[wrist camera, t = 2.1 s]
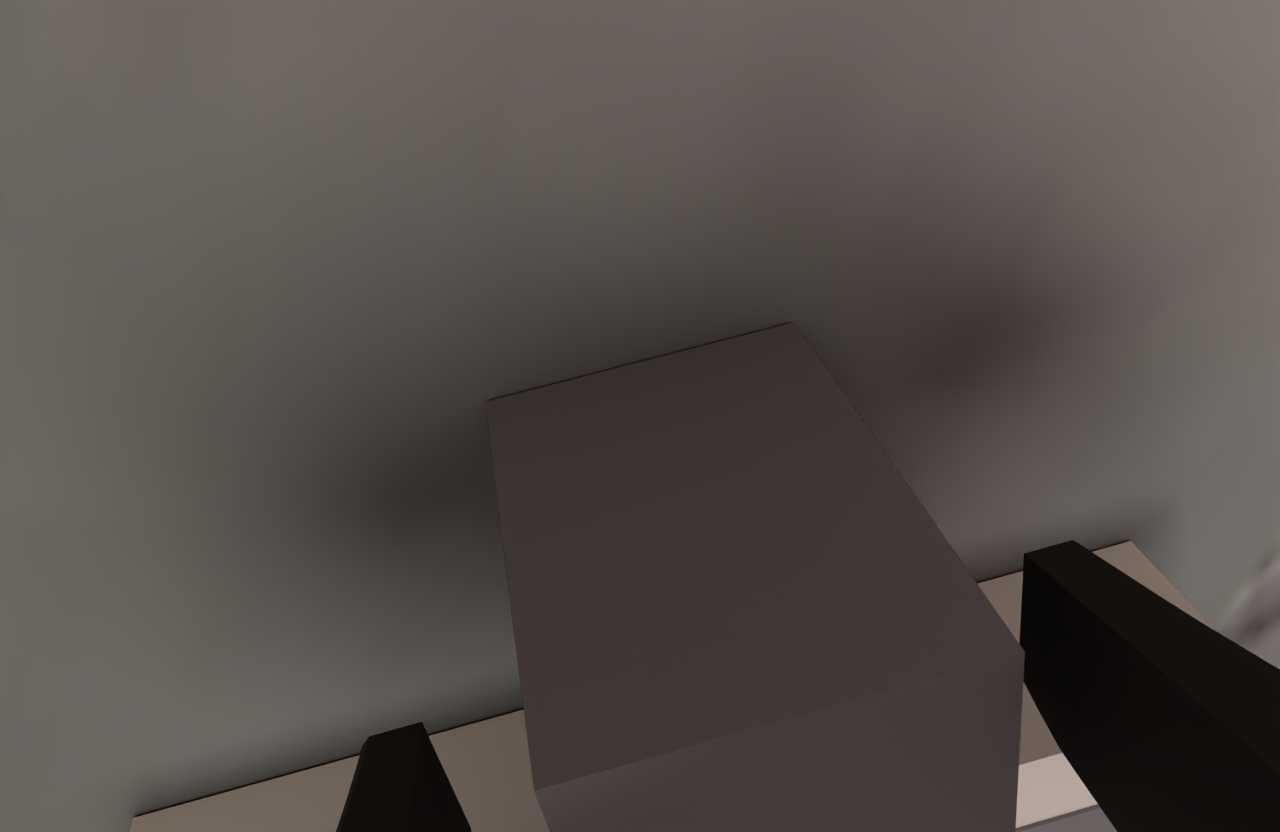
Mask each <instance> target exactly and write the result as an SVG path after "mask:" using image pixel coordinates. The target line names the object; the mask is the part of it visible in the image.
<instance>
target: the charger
mask: <svg viewBox="0 0 1280 832" xmlns="http://www.w3.org/2000/svg"><path fill="white" fill-rule="evenodd" d="M485 405H486V413H487V421H488V429H489V437H490V445H491V453H492V461H493V469H494V477H495V484H496V492H497V500H498V508H499V516H500V524H501V532H502V540H503V548H504V556H505V564H506V572H507V580H508V588H509V596H510V604H511V612H512V620H513V628H514V636H515V644H516V652H517V660H518V668H519V676H520V684H521V692H522V700H523V708H524V716H525V724H526V732H527V740H528V748H529V756H530V764H531V772H532V780H533V788H534V792H535V795H536V798H537V800H538V803H539V805H540V808H541V810H542V813H543V816H544V818H545V821H546V823H547V826H548V828H549V831H550V832H1015V829H1016V810H1017V791H1018V773H1019V754H1020V735H1021V716H1022V698H1023V679H1024V660H1025V651H1024V650H1023V648H1022V647H1021V646H1020V644H1019V643H1018V641H1017V640H1016V638H1015V637H1014V636H1013V634H1012V633H1011V631H1010V630H1009V628H1008V627H1007V626H1006V624H1005V623H1004V621H1003V620H1002V618H1001V617H1000V616H999V614H998V613H997V611H996V610H995V608H994V607H993V606H992V604H991V603H990V601H989V600H988V599H987V597H986V596H985V594H984V593H983V591H982V590H981V589H980V587H979V586H978V584H977V583H976V581H975V580H974V579H973V577H972V576H971V574H970V573H969V571H968V570H967V569H966V567H965V566H964V564H963V563H962V561H961V560H960V559H959V557H958V556H957V554H956V553H955V551H954V550H953V549H952V547H951V546H950V544H949V543H948V541H947V540H946V539H945V537H944V536H943V534H942V533H941V531H940V530H939V529H938V527H937V526H936V524H935V523H934V521H933V520H932V519H931V517H930V516H929V514H928V513H927V511H926V510H925V509H924V507H923V506H922V504H921V503H920V501H919V500H918V499H917V497H916V496H915V494H914V493H913V491H912V490H911V489H910V487H909V486H908V484H907V483H906V481H905V480H904V479H903V477H902V476H901V474H900V473H899V472H898V470H897V469H896V467H895V466H894V464H893V463H892V462H891V460H890V459H889V457H888V456H887V454H886V453H885V452H884V450H883V449H882V447H881V446H880V444H879V443H878V442H877V440H876V439H875V437H874V436H873V434H872V433H871V432H870V430H869V429H868V427H867V426H866V424H865V423H864V422H863V420H862V419H861V417H860V416H859V414H858V413H857V412H856V410H855V409H854V407H853V406H852V404H851V403H850V402H849V400H848V399H847V397H846V396H845V394H844V393H843V392H842V390H841V389H840V387H839V386H838V384H837V383H836V382H835V380H834V379H833V377H832V376H831V374H830V373H829V372H828V370H827V369H826V367H825V366H824V364H823V363H822V362H821V360H820V359H819V357H818V356H817V354H816V353H815V352H814V350H813V349H812V347H811V346H810V345H809V343H808V342H807V340H806V339H805V337H804V336H803V335H802V333H801V332H800V330H799V329H798V327H797V326H796V325H795V323H794V322H793V323H789V324H785V325H781V326H777V327H774V328H770V329H766V330H762V331H758V332H754V333H750V334H746V335H743V336H739V337H735V338H731V339H727V340H723V341H719V342H715V343H711V344H708V345H704V346H700V347H696V348H692V349H688V350H684V351H680V352H677V353H673V354H669V355H665V356H661V357H657V358H653V359H649V360H645V361H642V362H638V363H634V364H630V365H626V366H622V367H618V368H614V369H611V370H607V371H603V372H599V373H595V374H591V375H587V376H583V377H579V378H576V379H572V380H568V381H564V382H560V383H556V384H552V385H548V386H545V387H541V388H537V389H533V390H529V391H525V392H521V393H517V394H513V395H510V396H506V397H502V398H498V399H494V400H490V401H486V402H485Z"/></svg>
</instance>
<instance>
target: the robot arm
mask: <svg viewBox="0 0 1280 832" xmlns="http://www.w3.org/2000/svg"><path fill="white" fill-rule="evenodd" d="M1019 644H1020V646H1021V647H1022V648H1023V650H1024V651H1025V660H1024V679H1023V682H1024V684H1025V685H1026V687H1027V689H1028V691H1029V693H1030V695H1031V697H1032V699H1033V701H1034V703H1035V705H1036V707H1037V708H1038V710H1039V712H1040V714H1041V716H1042V718H1043V720H1044V721H1045V723H1046V725H1047V727H1048V729H1049V730H1050V732H1051V734H1052V736H1053V738H1054V739H1055V741H1056V743H1057V745H1058V747H1059V748H1060V750H1061V751H1062V753H1063V754H1064V756H1065V757H1066V759H1067V760H1068V762H1069V763H1070V765H1071V766H1072V768H1073V769H1074V771H1075V772H1076V773H1077V775H1078V776H1079V778H1080V779H1081V781H1082V782H1083V783H1084V785H1085V786H1086V788H1087V789H1088V791H1089V792H1090V794H1091V795H1092V796H1093V798H1094V799H1095V801H1096V802H1097V804H1098V805H1099V806H1100V808H1101V809H1102V811H1103V812H1104V814H1105V815H1106V816H1107V818H1108V819H1109V821H1110V822H1111V824H1112V825H1113V826H1114V828H1115V829H1116V831H1117V832H1280V669H1278V668H1276V667H1274V666H1273V665H1271V664H1269V663H1268V662H1266V661H1264V660H1263V659H1261V658H1259V657H1258V656H1256V655H1254V654H1253V653H1251V652H1249V651H1248V650H1246V649H1244V648H1243V647H1241V646H1239V645H1238V644H1236V643H1234V642H1233V641H1231V640H1229V639H1228V638H1226V637H1224V636H1223V635H1221V634H1219V633H1218V632H1216V631H1215V630H1213V629H1211V628H1210V627H1208V626H1207V625H1205V624H1203V623H1202V622H1200V621H1198V620H1197V619H1195V618H1194V617H1192V616H1191V615H1189V614H1187V613H1186V612H1184V611H1183V610H1181V609H1180V608H1178V607H1176V606H1175V605H1173V604H1172V603H1170V602H1169V601H1167V600H1165V599H1164V598H1162V597H1161V596H1159V595H1158V594H1156V593H1154V592H1153V591H1151V590H1150V589H1148V588H1147V587H1145V586H1144V585H1142V584H1141V583H1139V582H1137V581H1136V580H1134V579H1133V578H1131V577H1130V576H1128V575H1127V574H1125V573H1124V572H1122V571H1120V570H1119V569H1117V568H1116V567H1114V566H1113V565H1111V564H1110V563H1108V562H1107V561H1105V560H1103V559H1102V558H1100V557H1099V556H1097V555H1096V554H1094V553H1092V552H1091V551H1089V550H1088V549H1086V548H1085V547H1083V546H1082V545H1080V544H1078V543H1077V542H1075V541H1074V540H1071V541H1068V542H1064V543H1061V544H1057V545H1053V546H1050V547H1046V548H1043V549H1039V550H1036V551H1032V552H1028V553H1025V554H1024V564H1023V583H1022V602H1021V621H1020V641H1019ZM336 832H471V827H470V825H469V823H468V820H467V818H466V816H465V814H464V812H463V810H462V808H461V805H460V803H459V801H458V799H457V797H456V795H455V792H454V790H453V788H452V786H451V784H450V782H449V779H448V777H447V775H446V773H445V771H444V769H443V766H442V764H441V762H440V760H439V758H438V756H437V754H436V751H435V749H434V747H433V745H432V743H431V741H430V738H429V736H428V734H427V732H426V730H425V728H424V725H423V723H422V722H420V723H416V724H413V725H409V726H405V727H402V728H398V729H395V730H391V731H387V732H384V733H380V734H377V735H373V736H370V737H368V739H367V740H366V742H365V743H364V744H363V746H362V749H361V752H360V756H359V759H358V763H357V766H356V770H355V773H354V776H353V780H352V783H351V786H350V790H349V793H348V796H347V799H346V802H345V805H344V809H343V812H342V815H341V818H340V821H339V824H338V827H337V830H336Z"/></svg>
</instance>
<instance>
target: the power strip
mask: <svg viewBox="0 0 1280 832" xmlns="http://www.w3.org/2000/svg"><path fill="white" fill-rule="evenodd" d="M1092 553H1094V554H1096V555H1097V556H1099V557H1100V558H1102V559H1103V560H1105V561H1107V562H1108V563H1110V564H1111V565H1113V566H1114V567H1116V568H1117V569H1119V570H1120V571H1122V572H1124V573H1125V574H1127V575H1128V576H1130V577H1131V578H1133V579H1134V580H1136V581H1137V582H1139V583H1141V584H1142V585H1144V586H1145V587H1147V588H1148V589H1150V590H1151V591H1153V592H1154V593H1156V594H1158V595H1159V596H1161V597H1162V598H1164V599H1165V600H1167V601H1169V602H1170V603H1172V604H1173V605H1175V606H1176V607H1178V608H1180V609H1181V610H1183V611H1184V612H1186V613H1187V614H1189V615H1191V616H1192V617H1194V618H1195V619H1197V620H1198V621H1200V622H1202V623H1203V624H1205V625H1207V626H1208V627H1210V628H1211V629H1213V628H1212V627H1211V625H1210V624H1209V623H1208V622H1207V621H1206V620H1205V619H1204V618H1203V617H1202V616H1201V615H1200V614H1199V613H1198V612H1197V611H1196V609H1195V608H1194V607H1193V606H1192V605H1191V604H1190V603H1189V602H1188V601H1187V600H1186V599H1185V598H1184V597H1183V596H1182V595H1181V593H1180V592H1179V591H1178V590H1177V589H1176V588H1175V587H1174V586H1173V585H1172V584H1171V583H1170V582H1169V581H1168V580H1167V579H1166V578H1165V576H1164V575H1163V574H1162V573H1161V572H1160V571H1159V570H1158V569H1157V568H1156V567H1155V566H1154V565H1153V564H1152V563H1151V562H1150V560H1149V559H1148V558H1147V557H1146V556H1145V555H1144V554H1143V553H1142V552H1141V551H1140V550H1139V549H1138V548H1137V547H1136V546H1135V545H1134V543H1133V542H1132V541H1129V542H1125V543H1122V544H1118V545H1115V546H1111V547H1107V548H1104V549H1100V550H1097V551H1093V552H1092ZM1022 583H1023V571H1021V572H1017V573H1014V574H1010V575H1006V576H1003V577H999V578H996V579H992V580H988V581H985V582H981V583H978V586H979V587H980V589H981V590H982V591H983V593H984V594H985V596H986V597H987V599H988V600H989V601H990V603H991V604H992V606H993V607H994V608H995V610H996V611H997V613H998V614H999V616H1000V617H1001V618H1002V620H1003V621H1004V623H1005V624H1006V626H1007V627H1008V628H1009V630H1010V631H1011V633H1012V634H1013V636H1014V637H1015V638H1016V640H1017V641H1018V643H1019V641H1020V621H1021V602H1022ZM1213 630H1214V629H1213ZM429 738H430V741H431V743H432V745H433V747H434V749H435V751H436V754H437V756H438V758H439V760H440V762H441V764H442V766H443V769H444V771H445V773H446V775H447V777H448V779H449V782H450V784H451V786H452V788H453V790H454V792H455V795H456V797H457V799H458V801H459V803H460V805H461V808H462V810H463V812H464V814H465V816H466V818H467V820H468V823H469V825H470V827H471V832H550V831H549V828H548V826H547V823H546V821H545V818H544V816H543V813H542V810H541V808H540V805H539V803H538V800H537V798H536V795H535V792H534V788H533V780H532V772H531V764H530V756H529V748H528V740H527V732H526V724H525V716H524V710H520V711H516V712H513V713H509V714H506V715H502V716H498V717H495V718H491V719H488V720H484V721H480V722H477V723H473V724H470V725H466V726H462V727H459V728H455V729H452V730H448V731H444V732H441V733H437V734H434V735H430V736H429ZM359 756H360V755H358V756H354V757H351V758H347V759H344V760H340V761H336V762H333V763H329V764H326V765H322V766H318V767H315V768H311V769H307V770H304V771H300V772H297V773H293V774H289V775H286V776H282V777H279V778H275V779H271V780H268V781H264V782H261V783H257V784H253V785H250V786H246V787H243V788H239V789H235V790H232V791H228V792H225V793H221V794H217V795H214V796H210V797H207V798H203V799H199V800H196V801H192V802H189V803H185V804H181V805H178V806H174V807H171V808H167V809H163V810H160V811H156V812H153V813H149V814H145V815H142V816H138V817H135V818H133V820H132V824H131V828H130V832H336V830H337V827H338V824H339V821H340V818H341V815H342V812H343V809H344V805H345V802H346V799H347V796H348V793H349V790H350V786H351V783H352V780H353V776H354V773H355V770H356V766H357V763H358V759H359ZM1015 832H1117V831H1116V829H1115V828H1114V826H1113V825H1112V824H1111V822H1110V821H1109V819H1108V818H1107V816H1106V815H1105V814H1104V812H1103V811H1102V809H1101V808H1100V806H1099V805H1098V804H1097V802H1096V801H1095V799H1094V798H1093V796H1092V795H1091V794H1090V792H1089V791H1088V789H1087V788H1086V786H1085V785H1084V783H1083V782H1082V781H1081V779H1080V778H1079V776H1078V775H1077V773H1076V772H1075V771H1074V769H1073V768H1072V766H1071V765H1070V763H1069V762H1068V760H1067V759H1066V757H1065V756H1064V754H1063V753H1062V751H1061V750H1060V748H1059V747H1058V745H1057V743H1056V741H1055V739H1054V738H1053V736H1052V734H1051V732H1050V730H1049V729H1048V727H1047V725H1046V723H1045V721H1044V720H1043V718H1042V716H1041V714H1040V712H1039V710H1038V708H1037V707H1036V705H1035V703H1034V701H1033V699H1032V697H1031V695H1030V693H1029V691H1028V689H1027V687H1026V685H1025V684H1024V682H1023V698H1022V716H1021V735H1020V754H1019V773H1018V791H1017V810H1016V829H1015Z"/></svg>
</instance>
